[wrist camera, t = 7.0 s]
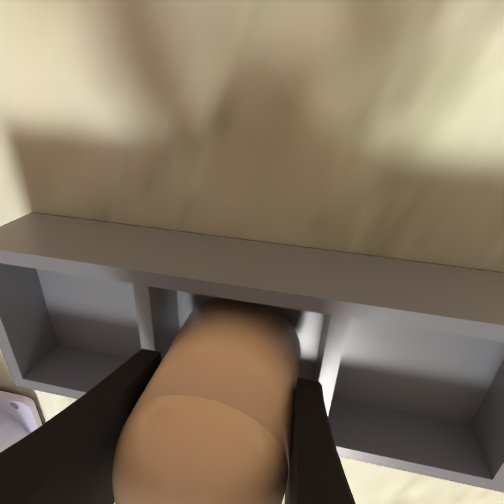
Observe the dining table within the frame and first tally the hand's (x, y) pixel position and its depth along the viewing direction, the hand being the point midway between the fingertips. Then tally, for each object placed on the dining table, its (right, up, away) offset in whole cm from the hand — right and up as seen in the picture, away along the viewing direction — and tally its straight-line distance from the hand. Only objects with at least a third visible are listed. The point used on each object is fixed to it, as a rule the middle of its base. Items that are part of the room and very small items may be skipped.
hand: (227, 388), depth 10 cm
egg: (0, +1, +2) cm, 2 cm away
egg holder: (+1, +2, +3) cm, 4 cm away
